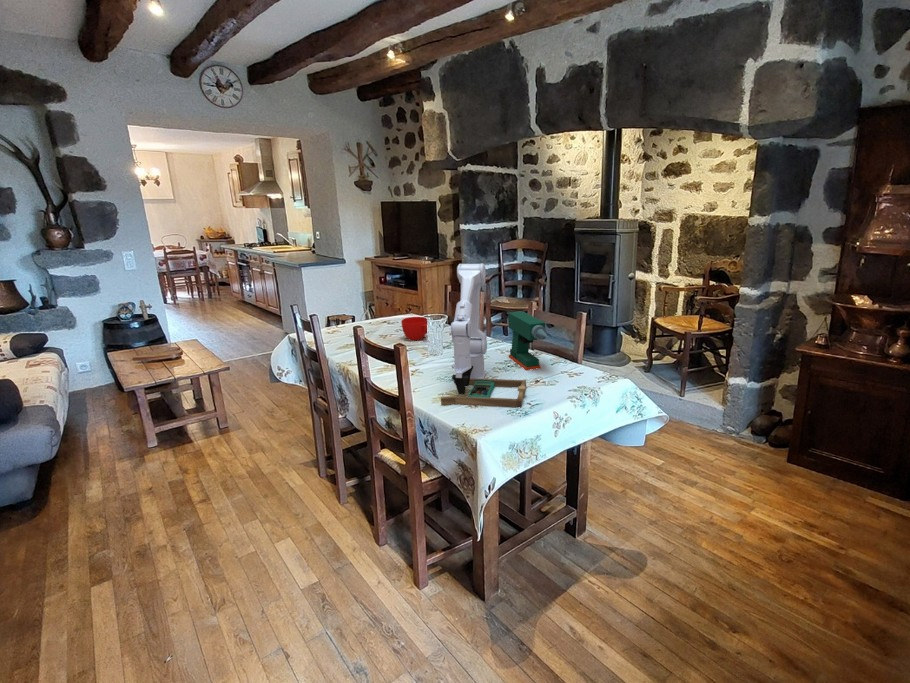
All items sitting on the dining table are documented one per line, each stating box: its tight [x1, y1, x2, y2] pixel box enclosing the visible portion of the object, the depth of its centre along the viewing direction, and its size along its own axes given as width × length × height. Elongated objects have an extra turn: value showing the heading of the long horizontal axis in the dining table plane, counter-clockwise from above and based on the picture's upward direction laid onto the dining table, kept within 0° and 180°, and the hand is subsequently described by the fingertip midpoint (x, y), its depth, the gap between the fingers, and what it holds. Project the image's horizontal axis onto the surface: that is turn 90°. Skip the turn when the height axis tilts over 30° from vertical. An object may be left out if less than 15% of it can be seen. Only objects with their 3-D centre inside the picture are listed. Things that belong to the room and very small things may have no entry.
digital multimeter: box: [467, 381, 496, 398], centre depth 176 cm, size 7×15×3 cm, turn 166°
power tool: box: [507, 310, 549, 371], centre depth 198 cm, size 32×7×20 cm, turn 16°
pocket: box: [440, 378, 527, 409], centre depth 175 cm, size 22×28×3 cm
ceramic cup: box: [400, 316, 428, 341], centre depth 246 cm, size 13×17×10 cm
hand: (463, 389), depth 177 cm, fingers open, 7 cm apart
